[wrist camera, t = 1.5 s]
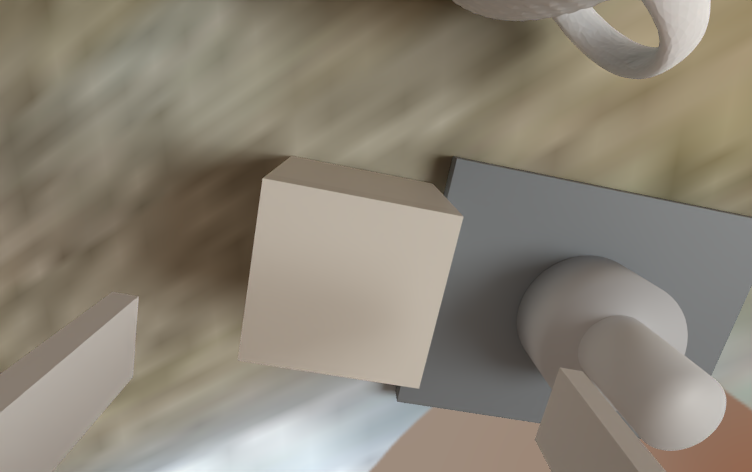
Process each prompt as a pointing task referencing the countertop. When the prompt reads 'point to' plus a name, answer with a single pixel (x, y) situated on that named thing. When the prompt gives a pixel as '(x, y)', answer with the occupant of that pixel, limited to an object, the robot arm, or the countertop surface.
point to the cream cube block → (347, 272)
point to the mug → (612, 30)
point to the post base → (544, 237)
